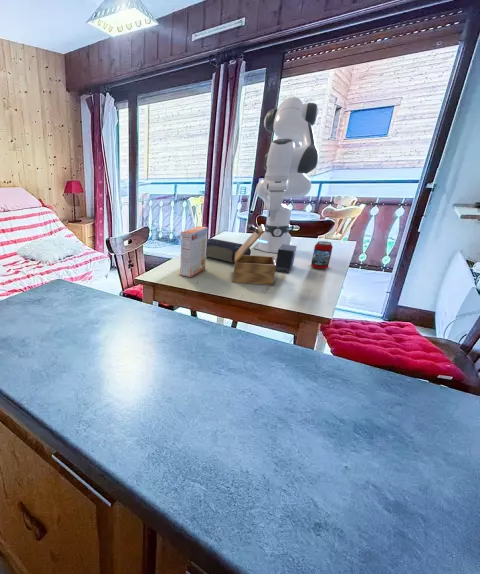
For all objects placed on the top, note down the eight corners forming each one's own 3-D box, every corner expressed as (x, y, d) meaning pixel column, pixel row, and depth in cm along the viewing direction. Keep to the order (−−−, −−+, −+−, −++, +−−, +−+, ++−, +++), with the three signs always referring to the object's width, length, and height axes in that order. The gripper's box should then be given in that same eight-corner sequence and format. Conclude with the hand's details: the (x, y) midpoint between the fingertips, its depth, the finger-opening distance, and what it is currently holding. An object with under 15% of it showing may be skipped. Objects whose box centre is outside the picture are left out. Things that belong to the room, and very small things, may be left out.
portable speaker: (197, 257, 177) (199, 239, 174) (209, 253, 183) (210, 235, 179) (240, 267, 158) (242, 247, 155) (251, 263, 164) (254, 243, 160)
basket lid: (263, 224, 141) (253, 218, 141) (264, 231, 130) (254, 223, 130) (236, 254, 149) (227, 247, 150) (235, 262, 139) (226, 255, 139)
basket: (270, 275, 147) (273, 256, 144) (273, 285, 136) (276, 265, 133) (233, 272, 153) (235, 254, 149) (232, 281, 142) (235, 262, 139)
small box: (289, 273, 148) (293, 250, 144) (273, 270, 152) (277, 249, 148) (293, 266, 156) (297, 245, 152) (278, 264, 159) (281, 243, 155)
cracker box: (194, 267, 162) (196, 225, 154) (205, 269, 158) (208, 227, 150) (178, 275, 153) (180, 231, 146) (190, 277, 149) (192, 233, 141)
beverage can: (309, 268, 152) (314, 243, 148) (312, 264, 157) (317, 240, 152) (326, 271, 148) (331, 245, 143) (329, 266, 152) (334, 242, 148)
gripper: (265, 181, 139) (261, 214, 144) (269, 186, 121) (263, 223, 127) (282, 181, 136) (277, 214, 142) (288, 186, 119) (282, 223, 124)
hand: (271, 218), depth 134 cm, fingers open, 8 cm apart
